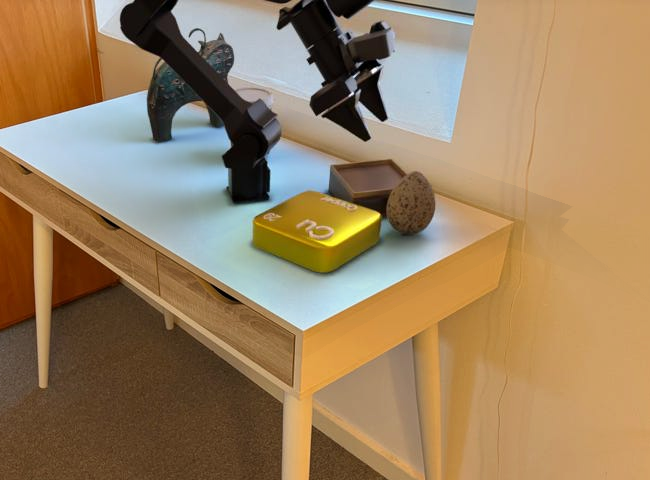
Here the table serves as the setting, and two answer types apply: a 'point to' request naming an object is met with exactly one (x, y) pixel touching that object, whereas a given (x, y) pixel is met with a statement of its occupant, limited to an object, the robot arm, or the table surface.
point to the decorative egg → (411, 204)
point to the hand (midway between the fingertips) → (377, 130)
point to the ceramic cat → (183, 87)
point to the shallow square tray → (365, 182)
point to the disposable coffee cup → (256, 96)
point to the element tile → (316, 230)
